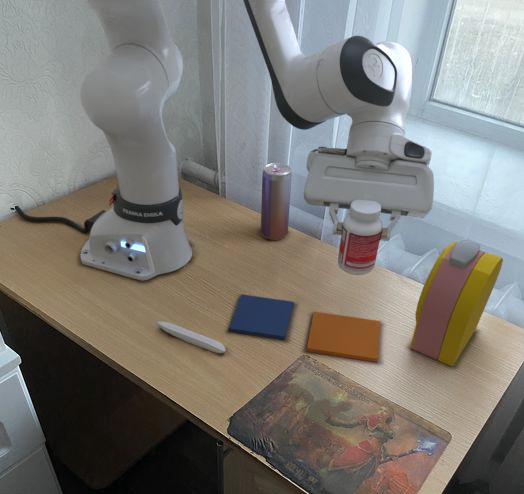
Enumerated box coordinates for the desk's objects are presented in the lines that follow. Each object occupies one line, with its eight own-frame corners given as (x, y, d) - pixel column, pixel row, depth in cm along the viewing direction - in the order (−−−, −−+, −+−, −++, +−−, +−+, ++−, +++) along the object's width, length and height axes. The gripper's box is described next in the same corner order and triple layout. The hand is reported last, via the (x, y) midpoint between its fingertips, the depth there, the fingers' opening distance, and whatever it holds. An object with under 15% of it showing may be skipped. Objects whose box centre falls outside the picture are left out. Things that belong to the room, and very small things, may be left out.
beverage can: (256, 237, 117) (258, 171, 106) (266, 224, 121) (269, 160, 111) (281, 243, 115) (286, 177, 105) (291, 230, 119) (296, 165, 109)
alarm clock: (435, 308, 100) (463, 221, 88) (478, 325, 97) (513, 237, 84) (402, 352, 91) (428, 261, 79) (448, 372, 88) (483, 281, 75)
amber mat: (306, 351, 91) (306, 347, 90) (313, 314, 98) (313, 311, 97) (377, 362, 89) (378, 358, 89) (379, 324, 96) (380, 321, 96)
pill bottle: (381, 269, 89) (394, 209, 82) (353, 280, 87) (364, 219, 79) (357, 251, 93) (367, 192, 85) (329, 262, 90) (337, 202, 83)
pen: (159, 324, 95) (158, 317, 93) (228, 351, 90) (227, 343, 89) (154, 330, 93) (152, 322, 92) (223, 356, 89) (223, 349, 88)
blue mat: (228, 331, 94) (228, 328, 93) (241, 297, 101) (241, 294, 100) (284, 340, 93) (285, 336, 92) (293, 305, 100) (293, 301, 99)
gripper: (309, 136, 84) (295, 223, 83) (442, 151, 81) (429, 240, 81) (310, 153, 90) (297, 234, 90) (433, 166, 87) (421, 249, 87)
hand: (360, 237), depth 85 cm, fingers closed on pill bottle, 6 cm apart
